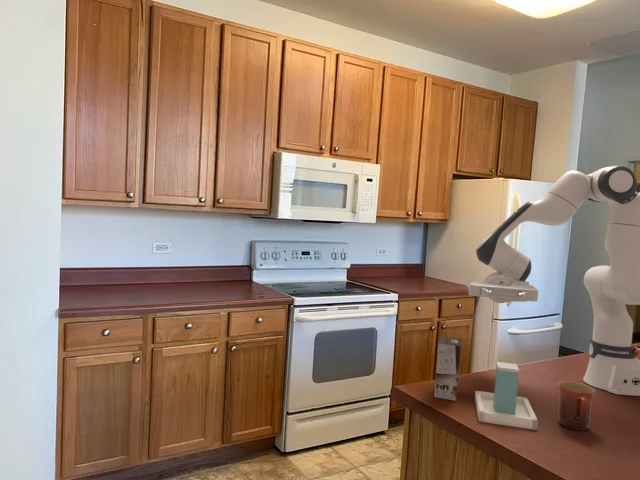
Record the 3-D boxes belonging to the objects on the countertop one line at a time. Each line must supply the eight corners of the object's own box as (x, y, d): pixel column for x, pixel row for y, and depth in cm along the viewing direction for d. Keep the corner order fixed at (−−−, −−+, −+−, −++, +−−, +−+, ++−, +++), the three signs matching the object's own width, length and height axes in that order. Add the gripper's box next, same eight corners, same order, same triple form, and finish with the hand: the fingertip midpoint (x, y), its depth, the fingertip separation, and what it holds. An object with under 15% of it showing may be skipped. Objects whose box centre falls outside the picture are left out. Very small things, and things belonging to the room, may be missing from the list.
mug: (550, 416, 132) (553, 379, 131) (585, 421, 130) (589, 383, 130) (563, 436, 120) (567, 395, 120) (602, 441, 118) (606, 400, 118)
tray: (526, 406, 138) (527, 397, 138) (536, 430, 123) (537, 420, 123) (474, 399, 142) (475, 390, 141) (478, 421, 126) (479, 411, 126)
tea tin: (512, 407, 134) (516, 364, 133) (515, 415, 129) (519, 369, 128) (493, 404, 135) (496, 361, 135) (495, 412, 130) (498, 367, 130)
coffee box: (456, 401, 139) (460, 345, 138) (433, 397, 141) (437, 342, 140) (458, 390, 148) (462, 338, 147) (436, 387, 150) (440, 335, 149)
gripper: (467, 276, 161) (469, 281, 147) (533, 282, 156) (542, 287, 142) (465, 295, 161) (468, 302, 148) (532, 301, 156) (540, 309, 143)
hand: (505, 295), depth 145 cm, fingers open, 8 cm apart
